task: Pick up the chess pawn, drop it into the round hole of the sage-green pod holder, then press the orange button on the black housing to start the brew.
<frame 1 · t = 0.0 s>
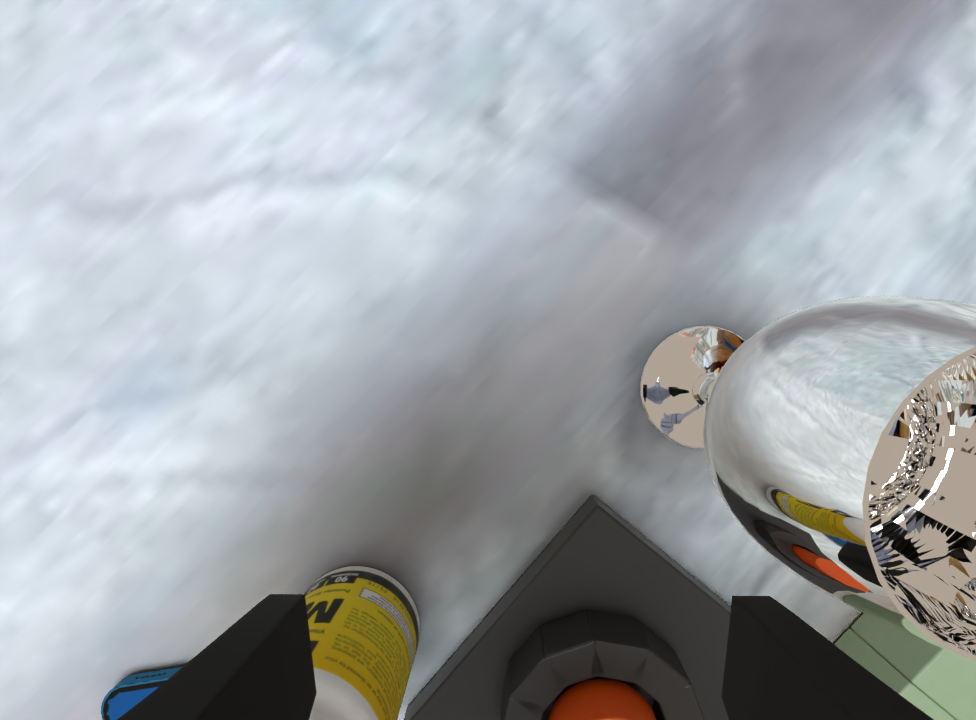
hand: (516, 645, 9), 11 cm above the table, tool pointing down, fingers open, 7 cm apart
wineglass: (700, 386, 19), on the table
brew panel: (588, 676, 20), on the table
supplement bottle: (360, 619, 20), on the table
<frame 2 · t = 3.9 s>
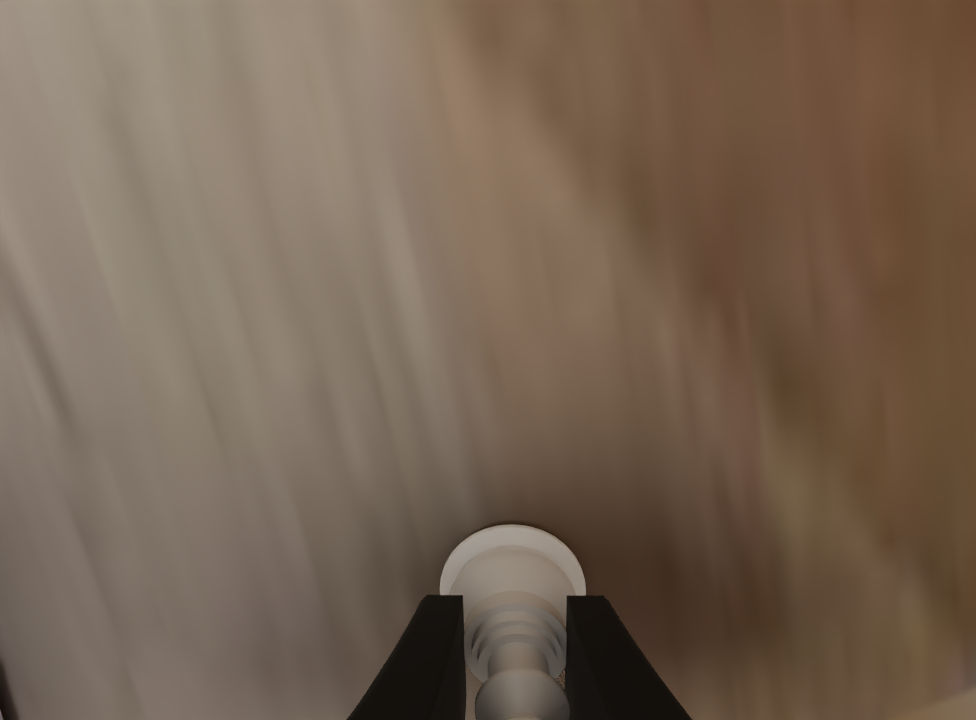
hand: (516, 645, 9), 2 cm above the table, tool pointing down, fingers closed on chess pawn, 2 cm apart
chess pawn: (512, 576, 11), on the table, touching gripper
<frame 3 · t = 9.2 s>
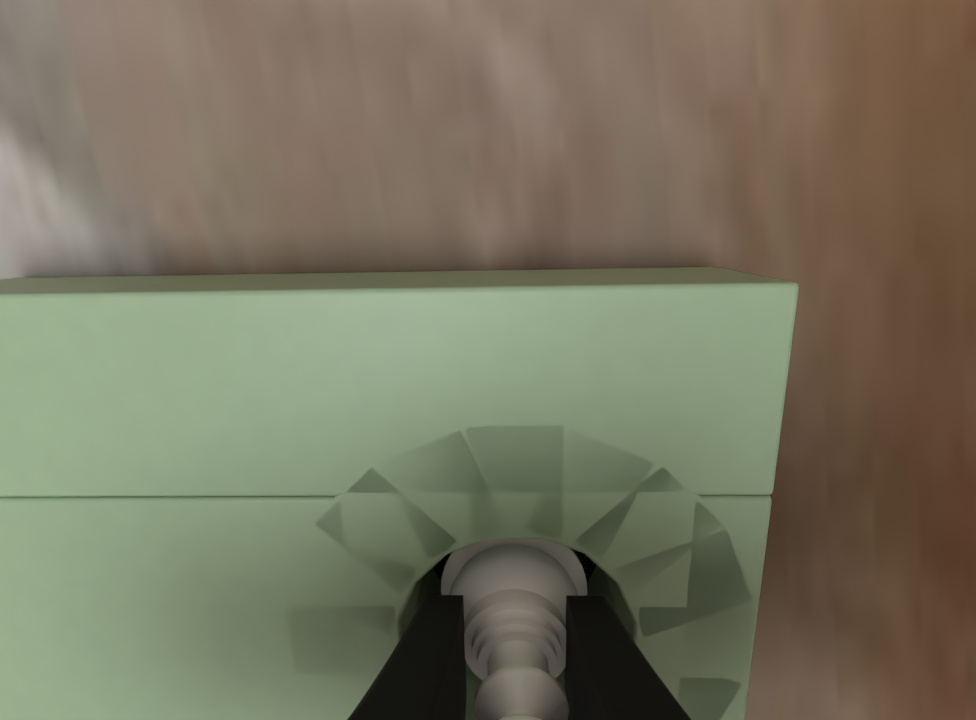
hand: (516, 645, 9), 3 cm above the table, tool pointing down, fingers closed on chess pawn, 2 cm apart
pod holder: (380, 539, 12), on the table
chess pawn: (513, 575, 11), point 1 cm above the table, touching gripper
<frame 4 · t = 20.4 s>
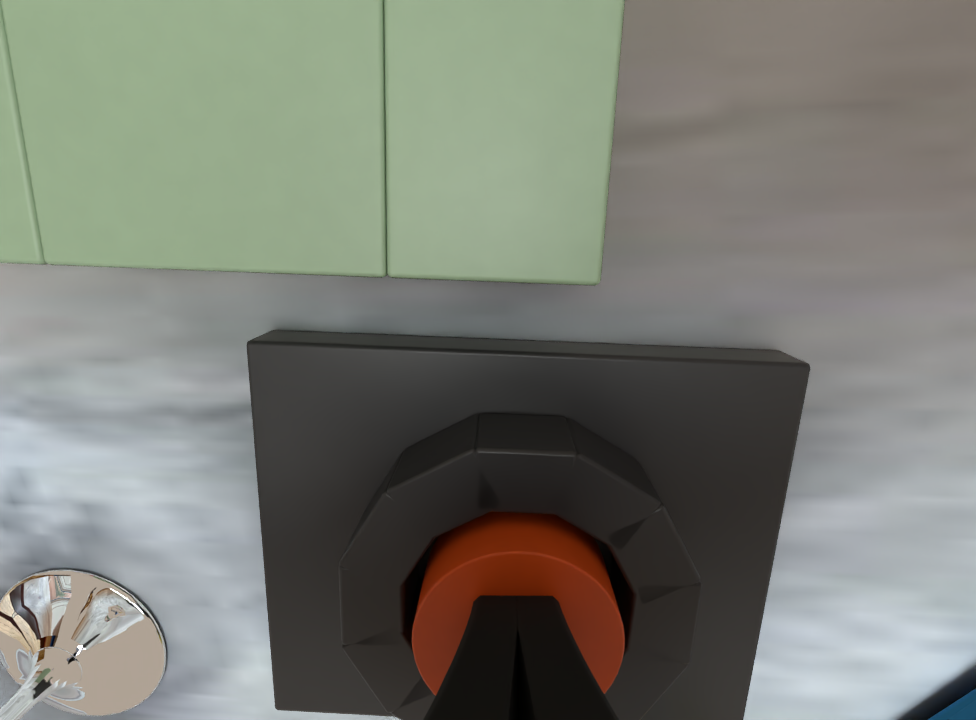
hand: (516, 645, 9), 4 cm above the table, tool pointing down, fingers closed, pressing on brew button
wineglass: (87, 638, 14), on the table
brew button: (516, 609, 10), point 3 cm above the table, slide at -0.6 cm, touching gripper
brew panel: (513, 525, 12), on the table
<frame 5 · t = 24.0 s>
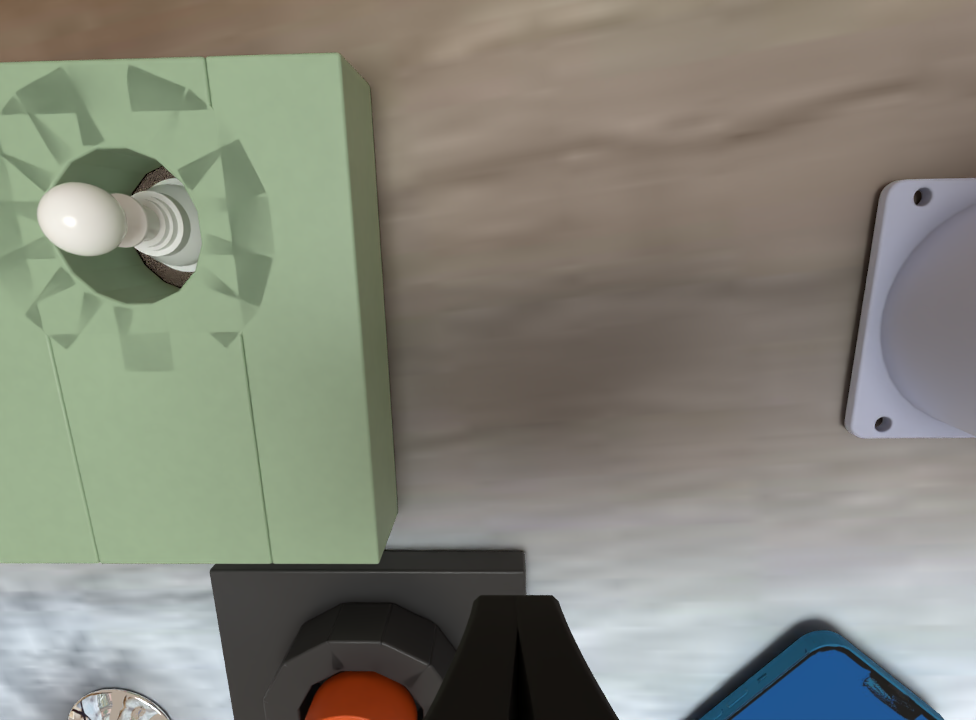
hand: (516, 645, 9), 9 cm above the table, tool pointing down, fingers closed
pod holder: (205, 322, 17), on the table
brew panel: (381, 652, 20), on the table
chess pawn: (191, 225, 17), resting in pod holder
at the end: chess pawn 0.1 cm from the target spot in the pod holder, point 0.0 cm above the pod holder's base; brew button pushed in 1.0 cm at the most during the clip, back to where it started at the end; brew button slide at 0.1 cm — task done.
